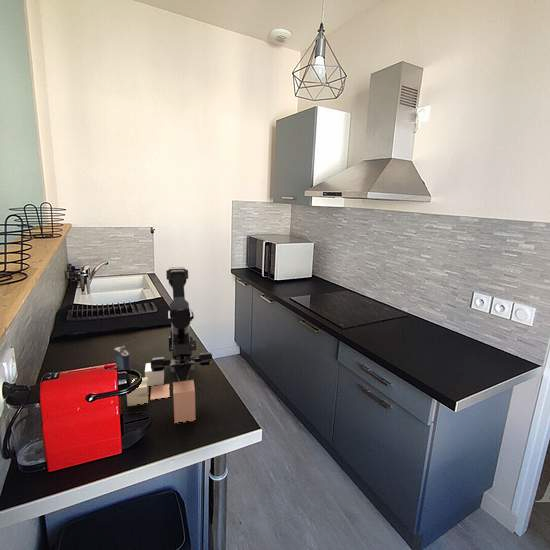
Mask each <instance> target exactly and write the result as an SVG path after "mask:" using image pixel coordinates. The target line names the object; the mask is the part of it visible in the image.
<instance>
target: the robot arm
mask: <svg viewBox="0 0 550 550" xmlns="http://www.w3.org/2000/svg"><path fill="white" fill-rule="evenodd" d="M187 279H189V270H188V269H186V267H184V266H174V267H173V266H172V267H169V268H168V269H166V281H167V280H168V285H169V286H170V288H171V289H172V301H171V303H170V304H169V306H170V307H169V308H170V309H168V311H167V313H168V317H167V319H168V324H169V323H171V330H170V332H169V333H170V335H169V336H168V352H170V353H171V352H172V355H171V356H172V359H166V360H165V357H164V356H160V357H159V356H158V357H152V359H150V363H151V370H152V372H156V371H163V370H164V371H165V369H166V368H167V367H169V368H170V372H171V373H174V374H175V377H176V378H177V379H178V382H180V381H188V378H189V376H190V373H191V371H193V370H194V369H195V366H196V365H195V364H199V365H200V366H201V367H207V366H211V365H212V364H213V360H214V359H213V354H212V353H211V352H210V351H206V352H200V353H199V355H198V356H193V355H192V352H193V351H197V340H194V338H193V337H192V335H191V334H190V333H191V332H190V329H191V322H192V321H193V320H194V317H195V316H194V315H195V314H194V312H193V310H192V309H191V308H190V303H189V302H188V301H187V299H185V298H186V297H185V286H186V284H187ZM182 367H183V368H184V374H183V373H182V369H181V368H182ZM182 374H183V375H182Z"/></svg>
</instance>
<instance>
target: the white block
mask: <svg viewBox="0 0 550 550" xmlns="http://www.w3.org/2000/svg"><path fill="white" fill-rule="evenodd" d="M145 377H148V386H154V385H163V384H164V385H165V369H164V370H163V371H156V372H152V370H151V362H148V363H145V368H144V378H145Z"/></svg>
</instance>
